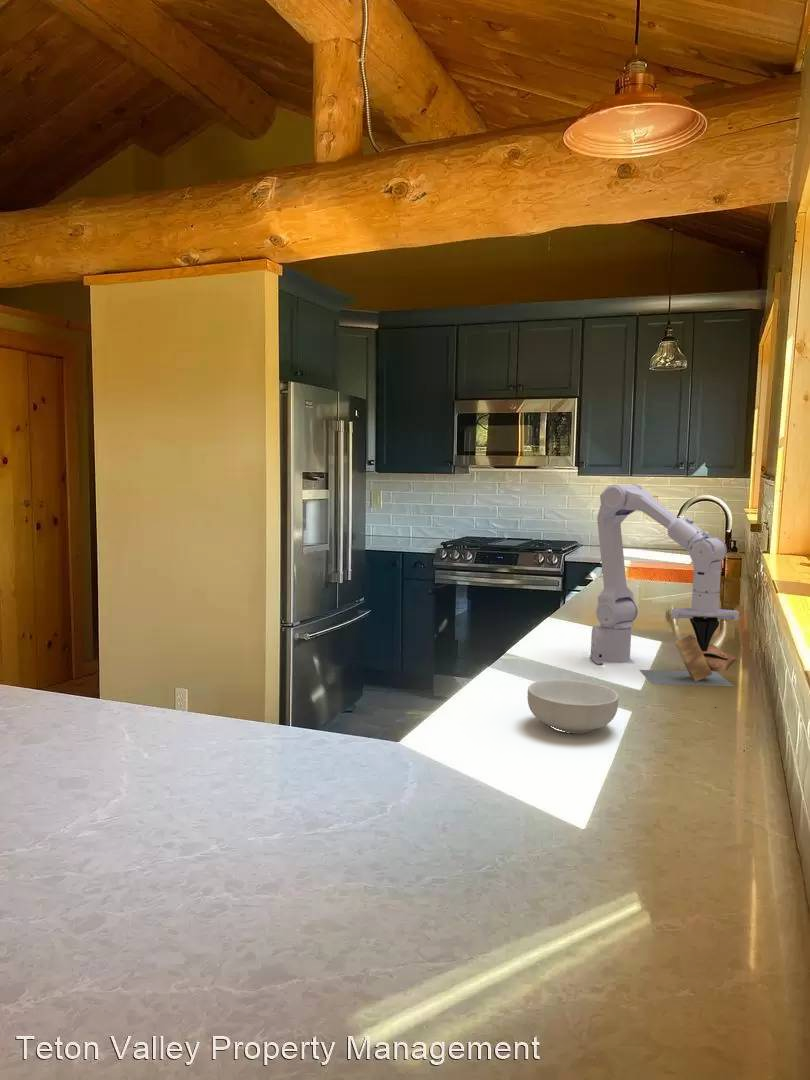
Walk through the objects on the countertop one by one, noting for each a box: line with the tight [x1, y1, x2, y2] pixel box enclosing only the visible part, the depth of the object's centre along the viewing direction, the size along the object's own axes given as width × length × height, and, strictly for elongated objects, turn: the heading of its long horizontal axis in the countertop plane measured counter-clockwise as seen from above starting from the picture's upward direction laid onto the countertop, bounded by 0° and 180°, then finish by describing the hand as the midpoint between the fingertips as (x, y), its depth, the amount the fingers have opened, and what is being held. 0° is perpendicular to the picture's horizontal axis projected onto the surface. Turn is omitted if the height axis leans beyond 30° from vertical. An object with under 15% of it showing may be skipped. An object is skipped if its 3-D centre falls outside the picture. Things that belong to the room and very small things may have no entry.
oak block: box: [674, 634, 713, 681], centre depth 182 cm, size 4×4×9 cm
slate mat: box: [639, 669, 734, 687], centre depth 184 cm, size 18×12×1 cm, turn 87°
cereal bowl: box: [526, 679, 620, 735], centre depth 150 cm, size 17×17×7 cm
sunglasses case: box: [702, 643, 738, 672], centre depth 198 cm, size 18×7×7 cm, turn 149°
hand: (702, 650), depth 182 cm, fingers closed
